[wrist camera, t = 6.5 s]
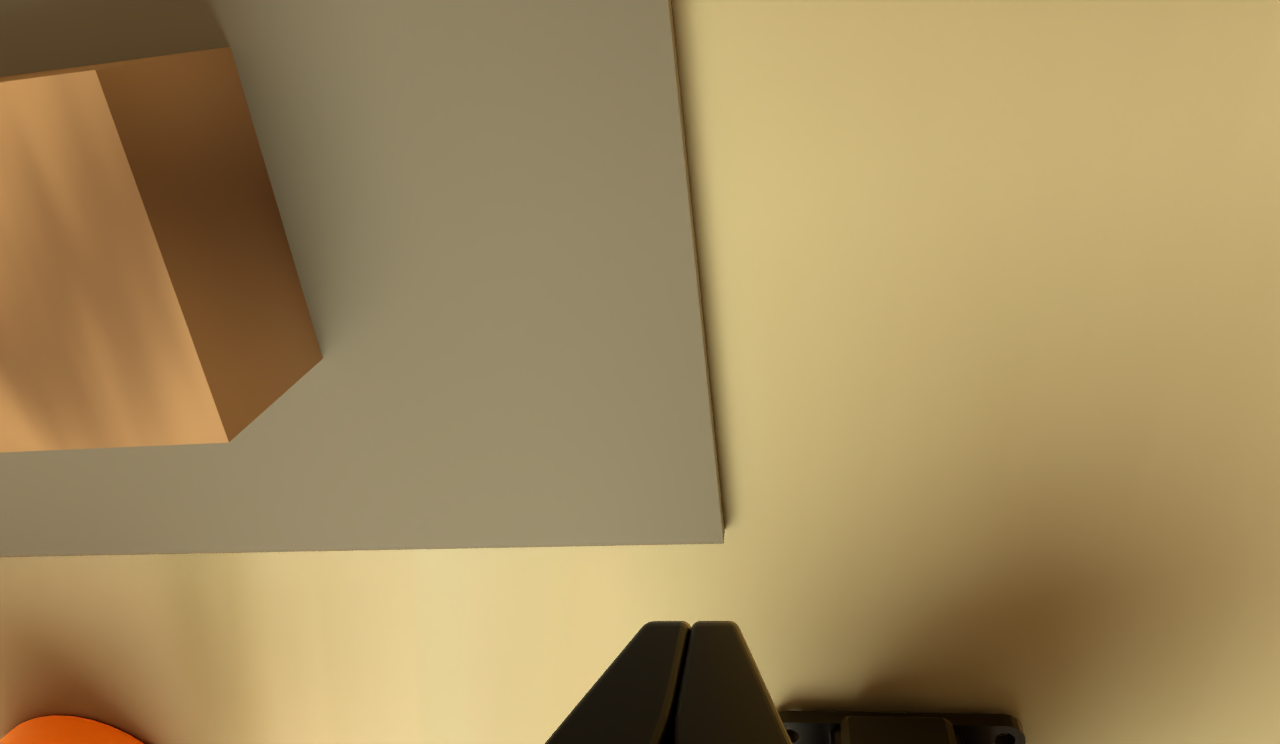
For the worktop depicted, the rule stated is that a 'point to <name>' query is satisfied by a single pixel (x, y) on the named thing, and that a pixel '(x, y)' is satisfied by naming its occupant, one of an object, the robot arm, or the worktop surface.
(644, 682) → the robot arm
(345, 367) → the mat
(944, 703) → the worktop surface
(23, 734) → the shaker bottle
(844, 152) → the worktop surface
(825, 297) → the worktop surface
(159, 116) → the block
